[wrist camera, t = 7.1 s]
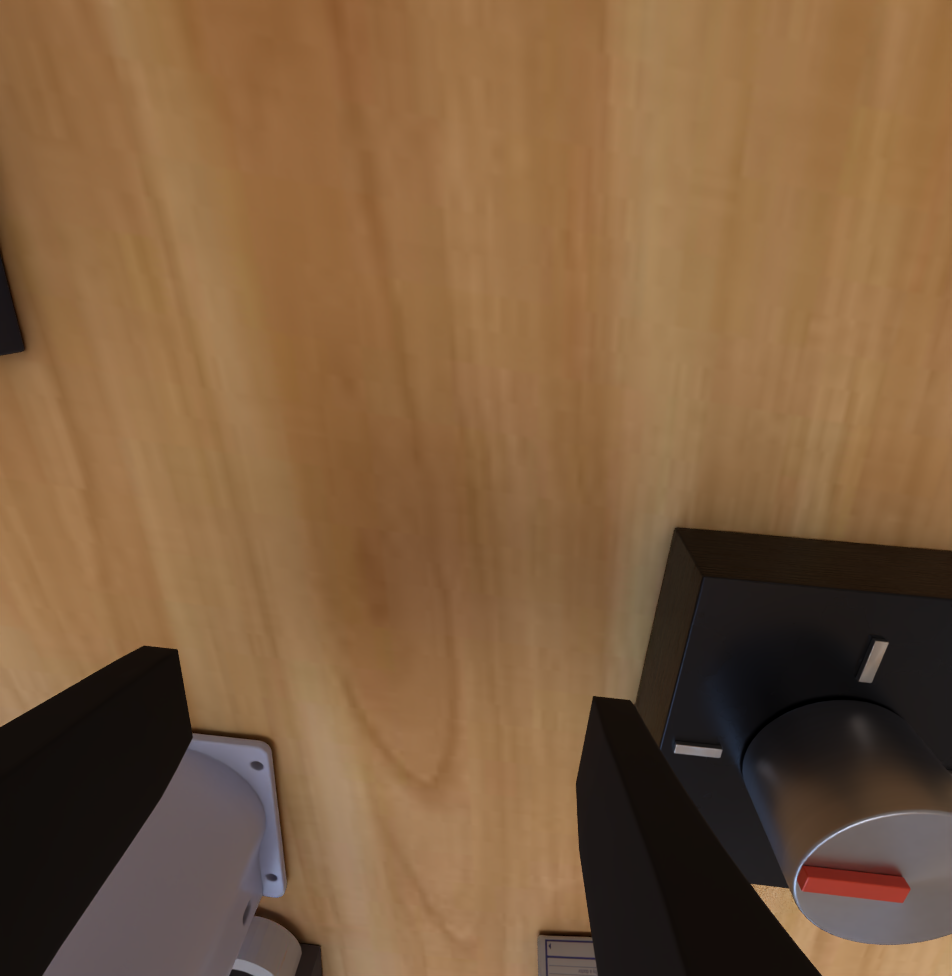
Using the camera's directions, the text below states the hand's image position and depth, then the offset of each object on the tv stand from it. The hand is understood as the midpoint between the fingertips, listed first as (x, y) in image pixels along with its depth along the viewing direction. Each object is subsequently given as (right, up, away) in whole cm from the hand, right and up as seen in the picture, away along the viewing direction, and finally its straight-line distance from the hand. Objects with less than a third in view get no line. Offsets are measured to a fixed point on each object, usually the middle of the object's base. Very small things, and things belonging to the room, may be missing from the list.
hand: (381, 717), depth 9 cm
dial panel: (+13, -3, +10) cm, 16 cm away
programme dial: (+12, -4, +7) cm, 15 cm away
